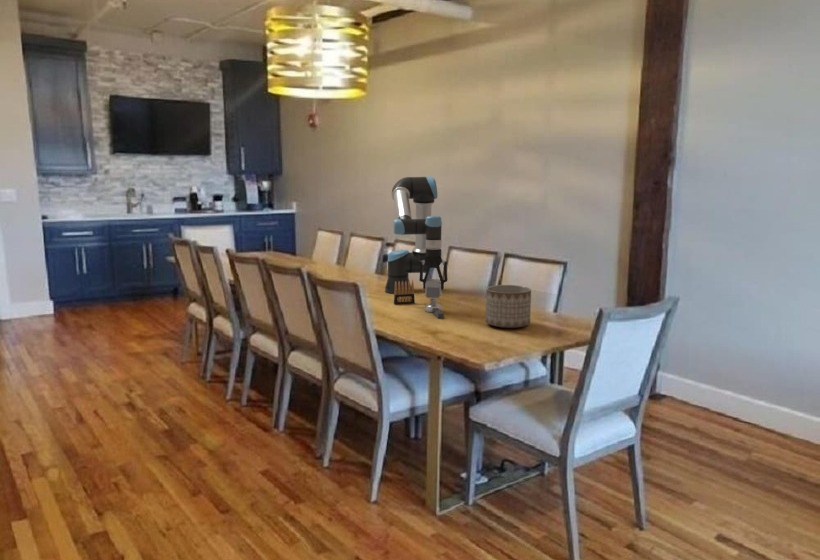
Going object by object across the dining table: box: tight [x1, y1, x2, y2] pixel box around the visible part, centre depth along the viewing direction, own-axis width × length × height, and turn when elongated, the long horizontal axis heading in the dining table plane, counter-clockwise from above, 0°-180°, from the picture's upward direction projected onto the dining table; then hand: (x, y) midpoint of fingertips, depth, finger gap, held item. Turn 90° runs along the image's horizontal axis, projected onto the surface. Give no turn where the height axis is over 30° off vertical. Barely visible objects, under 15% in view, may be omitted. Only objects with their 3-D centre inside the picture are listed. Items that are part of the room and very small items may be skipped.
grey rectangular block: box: [425, 278, 441, 299], centre depth 298 cm, size 6×6×8 cm
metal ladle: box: [424, 298, 445, 320], centre depth 294 cm, size 20×8×6 cm, turn 11°
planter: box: [485, 284, 532, 329], centre depth 271 cm, size 19×19×16 cm
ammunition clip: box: [393, 280, 416, 306], centre depth 317 cm, size 11×2×12 cm, turn 104°
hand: (433, 295), depth 299 cm, fingers closed on grey rectangular block, 6 cm apart
